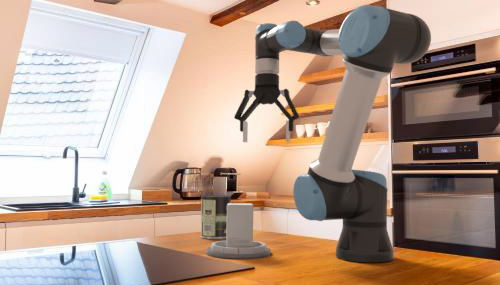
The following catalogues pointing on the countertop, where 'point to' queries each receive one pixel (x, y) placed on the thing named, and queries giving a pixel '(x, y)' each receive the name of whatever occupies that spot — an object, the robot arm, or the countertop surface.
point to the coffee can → (214, 216)
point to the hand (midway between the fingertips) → (266, 142)
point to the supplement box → (239, 225)
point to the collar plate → (238, 251)
